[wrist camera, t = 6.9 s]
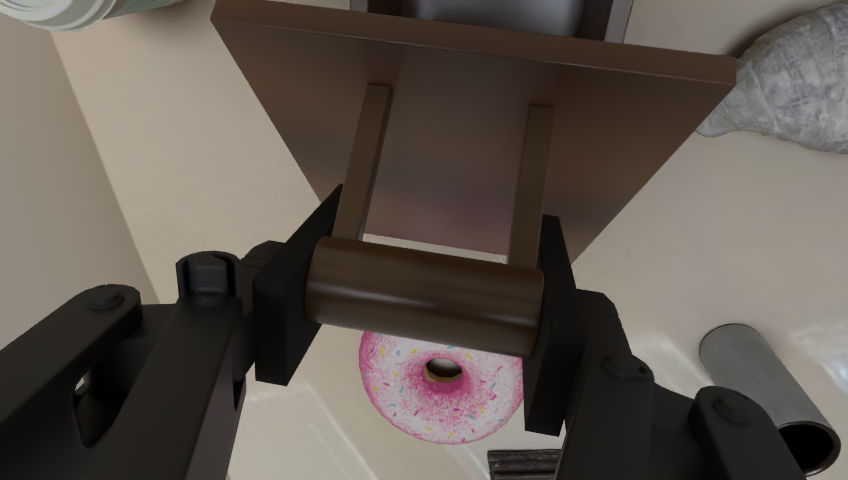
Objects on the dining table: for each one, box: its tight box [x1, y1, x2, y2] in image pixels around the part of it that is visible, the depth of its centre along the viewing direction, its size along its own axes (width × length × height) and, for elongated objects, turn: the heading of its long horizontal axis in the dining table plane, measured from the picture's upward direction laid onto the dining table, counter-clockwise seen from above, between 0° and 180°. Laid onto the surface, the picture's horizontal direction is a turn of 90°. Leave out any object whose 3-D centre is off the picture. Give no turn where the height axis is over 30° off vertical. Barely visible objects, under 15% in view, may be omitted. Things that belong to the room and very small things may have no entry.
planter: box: [700, 324, 841, 477], centre depth 36 cm, size 4×4×10 cm
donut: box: [359, 331, 523, 445], centre depth 42 cm, size 14×13×5 cm
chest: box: [350, 0, 634, 44], centre depth 30 cm, size 16×13×10 cm
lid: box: [210, 0, 737, 359], centre depth 20 cm, size 17×13×8 cm
